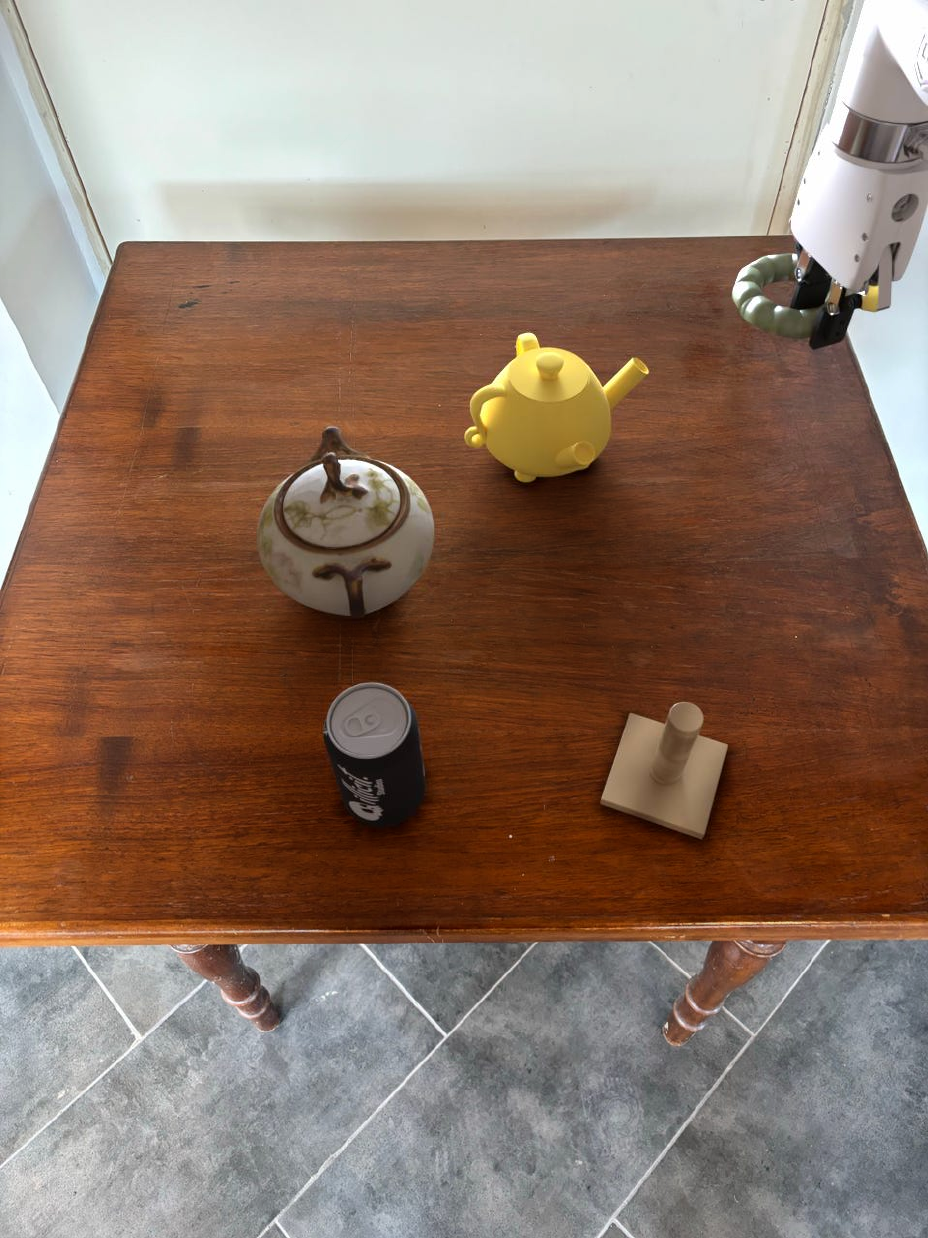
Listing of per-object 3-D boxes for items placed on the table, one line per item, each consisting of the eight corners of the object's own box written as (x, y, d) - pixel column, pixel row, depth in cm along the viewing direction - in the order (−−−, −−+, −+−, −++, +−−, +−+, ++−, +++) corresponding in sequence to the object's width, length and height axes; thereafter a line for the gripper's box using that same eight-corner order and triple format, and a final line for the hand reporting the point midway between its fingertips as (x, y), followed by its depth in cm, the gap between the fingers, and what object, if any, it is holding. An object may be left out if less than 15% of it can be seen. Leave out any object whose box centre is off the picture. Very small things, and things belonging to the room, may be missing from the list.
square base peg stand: (725, 750, 75) (755, 687, 67) (701, 840, 71) (730, 785, 63) (628, 718, 77) (645, 653, 69) (599, 804, 73) (614, 746, 64)
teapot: (580, 524, 88) (592, 439, 79) (453, 474, 92) (450, 386, 83) (640, 427, 95) (657, 338, 86) (520, 383, 99) (523, 294, 90)
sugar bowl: (265, 507, 90) (230, 388, 78) (420, 485, 91) (409, 364, 79) (280, 684, 79) (241, 578, 67) (455, 655, 81) (449, 546, 68)
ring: (856, 284, 87) (865, 261, 85) (839, 354, 82) (847, 331, 80) (744, 262, 89) (749, 239, 87) (719, 328, 84) (725, 306, 82)
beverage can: (438, 813, 73) (431, 742, 63) (357, 843, 71) (336, 777, 61) (409, 741, 76) (398, 664, 66) (331, 769, 75) (308, 695, 65)
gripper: (1002, 168, 65) (905, 378, 80) (863, 62, 73) (800, 269, 88) (908, 193, 63) (828, 401, 78) (779, 81, 72) (729, 288, 87)
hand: (814, 329), depth 83 cm, fingers closed on ring, 2 cm apart
